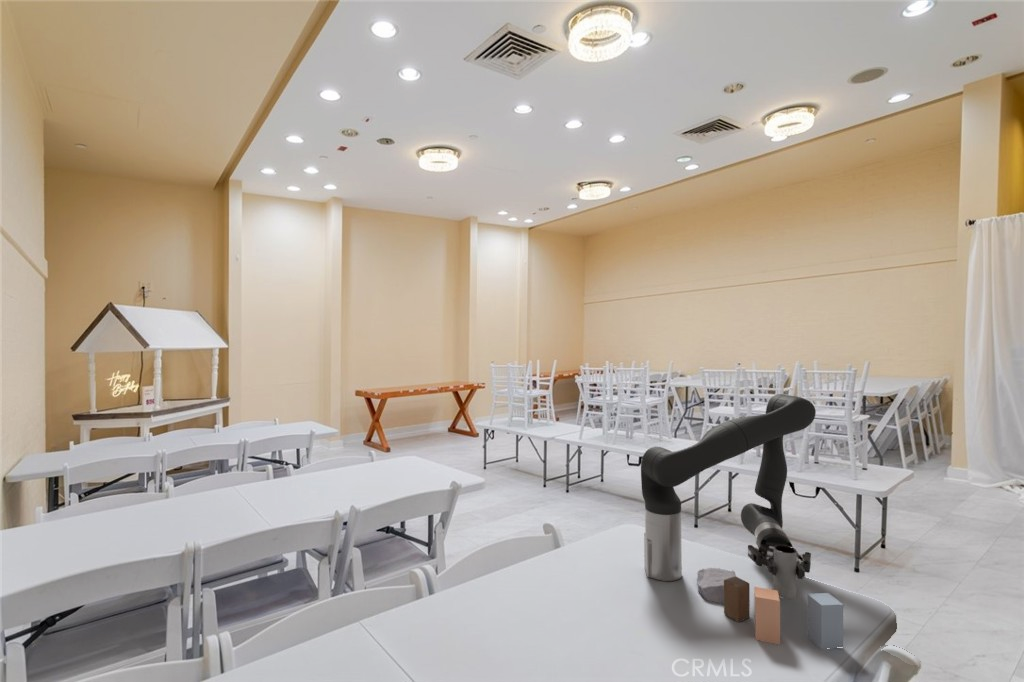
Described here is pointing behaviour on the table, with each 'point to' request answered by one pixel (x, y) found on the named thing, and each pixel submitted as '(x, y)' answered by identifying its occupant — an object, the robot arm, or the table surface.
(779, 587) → the planter
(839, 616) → the slate-blue block
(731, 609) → the wooden block
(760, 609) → the terracotta block
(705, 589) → the stone block
